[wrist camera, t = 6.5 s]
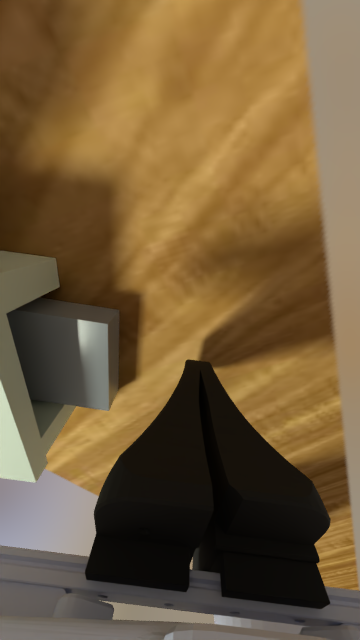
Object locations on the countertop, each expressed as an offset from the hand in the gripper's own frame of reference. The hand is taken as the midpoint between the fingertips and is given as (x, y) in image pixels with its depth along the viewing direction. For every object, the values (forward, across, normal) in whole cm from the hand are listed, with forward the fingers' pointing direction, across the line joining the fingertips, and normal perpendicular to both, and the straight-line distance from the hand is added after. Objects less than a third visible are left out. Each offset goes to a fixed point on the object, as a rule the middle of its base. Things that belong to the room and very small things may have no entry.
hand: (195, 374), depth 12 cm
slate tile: (+2, +10, 0) cm, 10 cm away
